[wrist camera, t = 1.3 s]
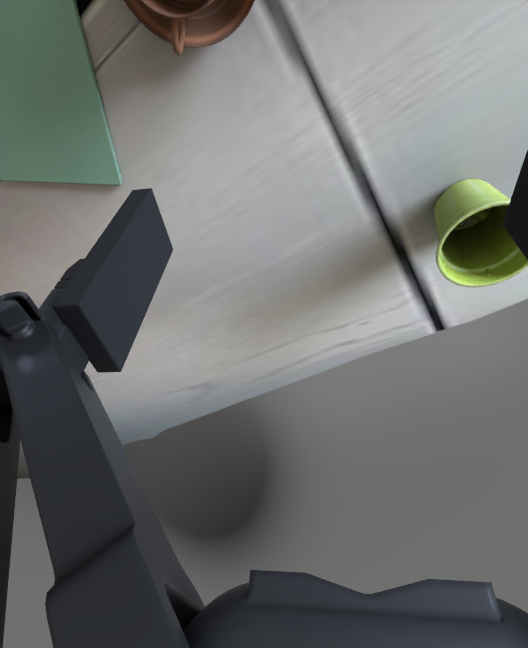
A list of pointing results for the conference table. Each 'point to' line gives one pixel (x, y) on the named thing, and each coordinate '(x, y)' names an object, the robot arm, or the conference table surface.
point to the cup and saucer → (191, 19)
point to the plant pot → (475, 236)
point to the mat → (50, 98)
